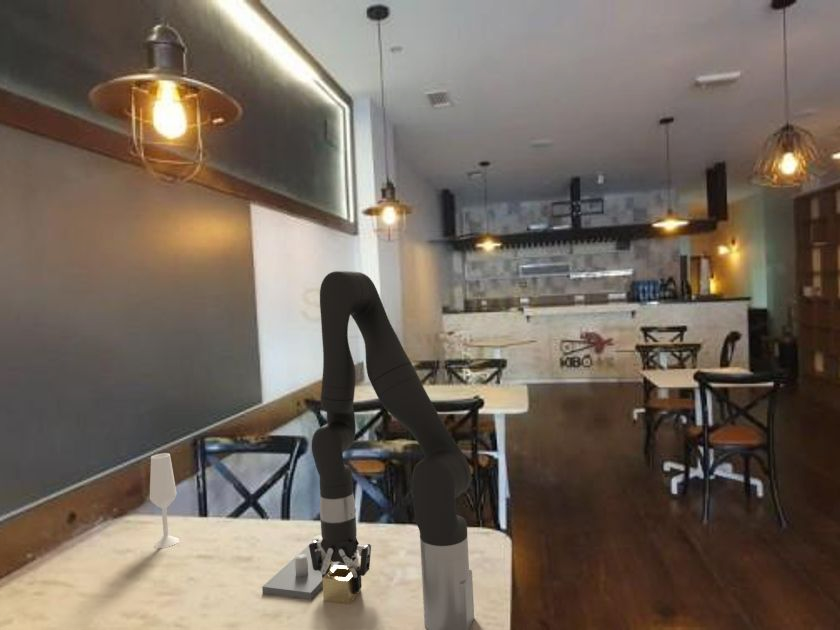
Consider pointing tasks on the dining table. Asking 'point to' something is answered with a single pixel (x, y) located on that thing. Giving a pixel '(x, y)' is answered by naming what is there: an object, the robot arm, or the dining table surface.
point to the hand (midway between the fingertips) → (342, 590)
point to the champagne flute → (163, 493)
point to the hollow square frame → (338, 585)
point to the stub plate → (298, 577)
